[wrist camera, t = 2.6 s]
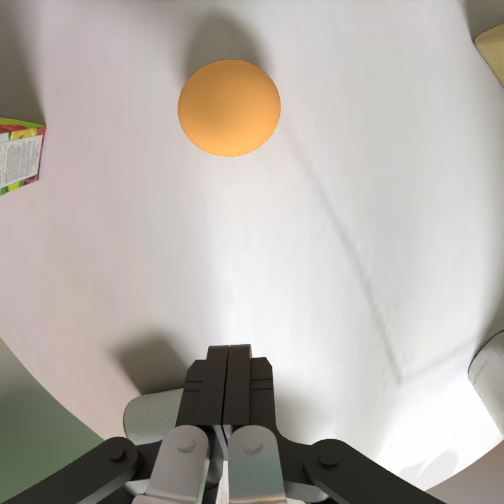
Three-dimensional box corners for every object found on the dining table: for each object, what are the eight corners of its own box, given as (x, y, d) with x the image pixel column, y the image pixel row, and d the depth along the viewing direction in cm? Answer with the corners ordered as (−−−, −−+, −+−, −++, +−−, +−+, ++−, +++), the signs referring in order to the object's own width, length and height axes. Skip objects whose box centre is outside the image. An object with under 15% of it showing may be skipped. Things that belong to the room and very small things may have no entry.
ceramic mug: (128, 383, 30) (108, 437, 23) (190, 370, 28) (176, 433, 21) (178, 433, 34) (168, 482, 27) (235, 425, 32) (232, 479, 25)
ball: (273, 66, 18) (279, 43, 12) (280, 149, 20) (289, 157, 15) (186, 76, 18) (160, 58, 13) (194, 157, 20) (172, 168, 15)
